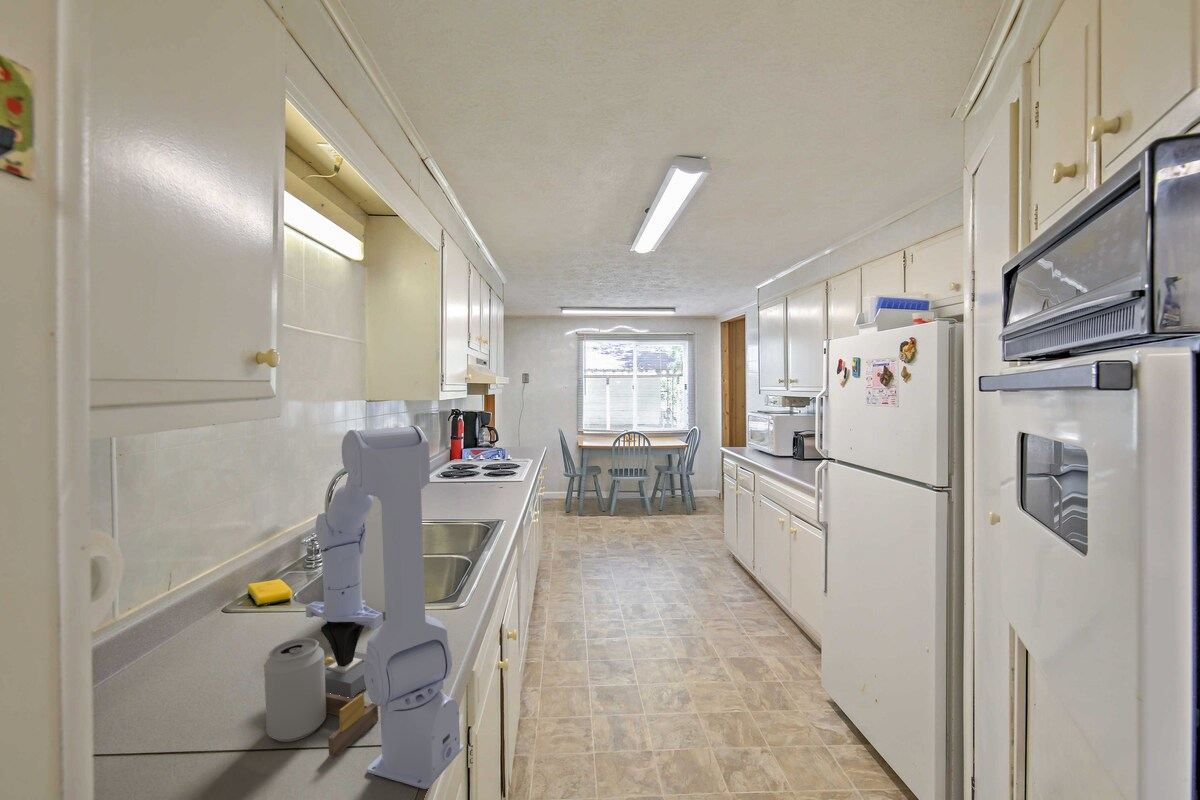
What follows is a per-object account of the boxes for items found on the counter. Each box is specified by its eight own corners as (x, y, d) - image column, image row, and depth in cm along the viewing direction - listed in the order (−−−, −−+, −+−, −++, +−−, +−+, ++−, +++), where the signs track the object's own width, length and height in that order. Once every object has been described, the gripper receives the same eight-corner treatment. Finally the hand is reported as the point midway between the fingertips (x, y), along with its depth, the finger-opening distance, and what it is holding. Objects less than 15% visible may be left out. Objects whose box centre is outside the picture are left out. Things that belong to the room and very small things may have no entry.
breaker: (362, 672, 91) (362, 659, 91) (345, 683, 88) (345, 670, 88) (345, 668, 92) (345, 655, 92) (328, 679, 89) (328, 666, 89)
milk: (419, 591, 127) (416, 481, 126) (396, 612, 116) (393, 492, 115) (371, 589, 128) (368, 481, 127) (343, 610, 117) (339, 492, 116)
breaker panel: (387, 672, 92) (386, 654, 92) (351, 699, 85) (350, 679, 84) (341, 662, 96) (340, 645, 95) (303, 687, 88) (302, 668, 88)
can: (313, 705, 83) (310, 629, 82) (335, 725, 78) (332, 644, 78) (258, 731, 77) (255, 649, 77) (279, 753, 72) (275, 666, 72)
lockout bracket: (378, 720, 79) (377, 684, 79) (334, 757, 72) (333, 717, 71) (325, 707, 82) (324, 672, 82) (278, 741, 75) (277, 702, 75)
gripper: (395, 579, 91) (397, 658, 91) (328, 570, 96) (331, 645, 96) (363, 595, 84) (366, 680, 85) (293, 584, 89) (296, 665, 90)
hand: (345, 663), depth 90 cm, fingers closed, pressing on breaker
